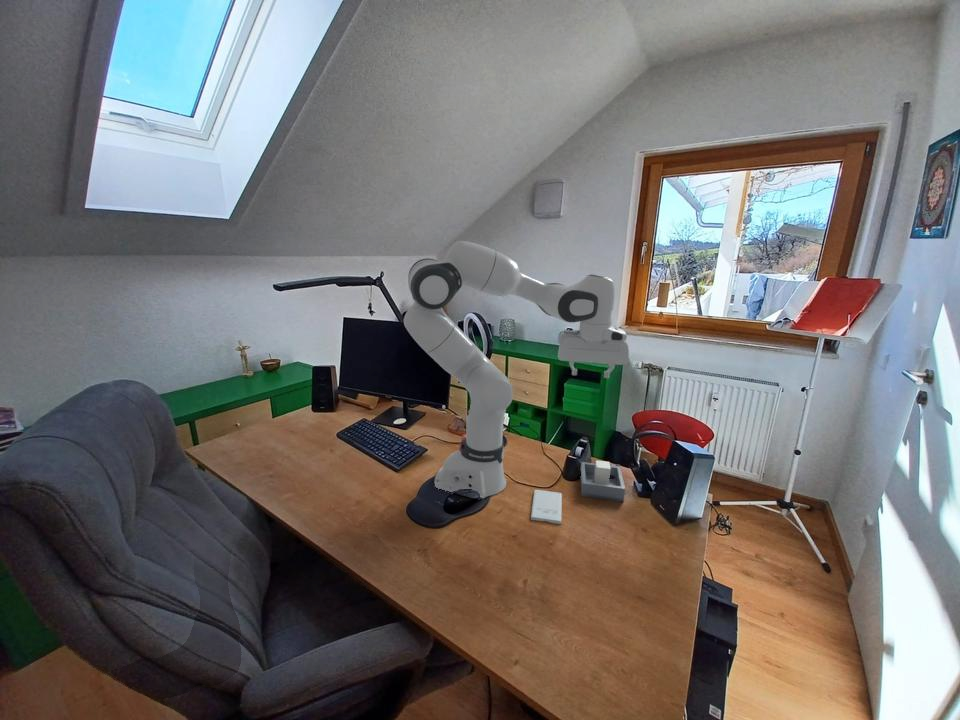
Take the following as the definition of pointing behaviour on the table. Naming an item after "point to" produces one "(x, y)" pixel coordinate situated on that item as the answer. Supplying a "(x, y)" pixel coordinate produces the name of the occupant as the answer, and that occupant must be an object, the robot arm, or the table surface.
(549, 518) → the external hard drive
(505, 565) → the table surface
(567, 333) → the robot arm
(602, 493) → the bin
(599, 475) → the cream block
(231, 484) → the table surface
